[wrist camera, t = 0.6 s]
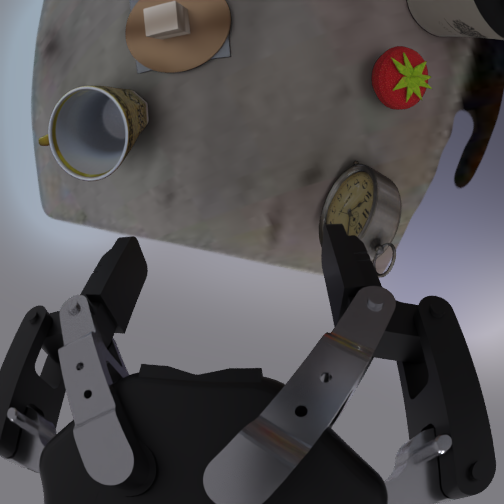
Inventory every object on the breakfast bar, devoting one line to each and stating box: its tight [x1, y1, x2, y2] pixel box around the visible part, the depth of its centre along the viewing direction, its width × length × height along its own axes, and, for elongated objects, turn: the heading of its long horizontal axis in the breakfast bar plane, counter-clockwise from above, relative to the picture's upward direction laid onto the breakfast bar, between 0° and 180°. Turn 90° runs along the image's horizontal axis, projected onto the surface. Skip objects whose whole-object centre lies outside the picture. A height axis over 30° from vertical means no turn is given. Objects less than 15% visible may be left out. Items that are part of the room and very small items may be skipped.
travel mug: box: [407, 0, 504, 40], centre depth 12 cm, size 8×8×18 cm
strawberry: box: [372, 46, 432, 109], centre depth 22 cm, size 6×8×10 cm
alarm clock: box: [319, 161, 402, 277], centre depth 30 cm, size 11×5×16 cm, turn 157°
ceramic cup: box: [39, 86, 149, 181], centre depth 26 cm, size 13×10×10 cm
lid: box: [126, 0, 231, 72], centre depth 21 cm, size 12×12×6 cm
